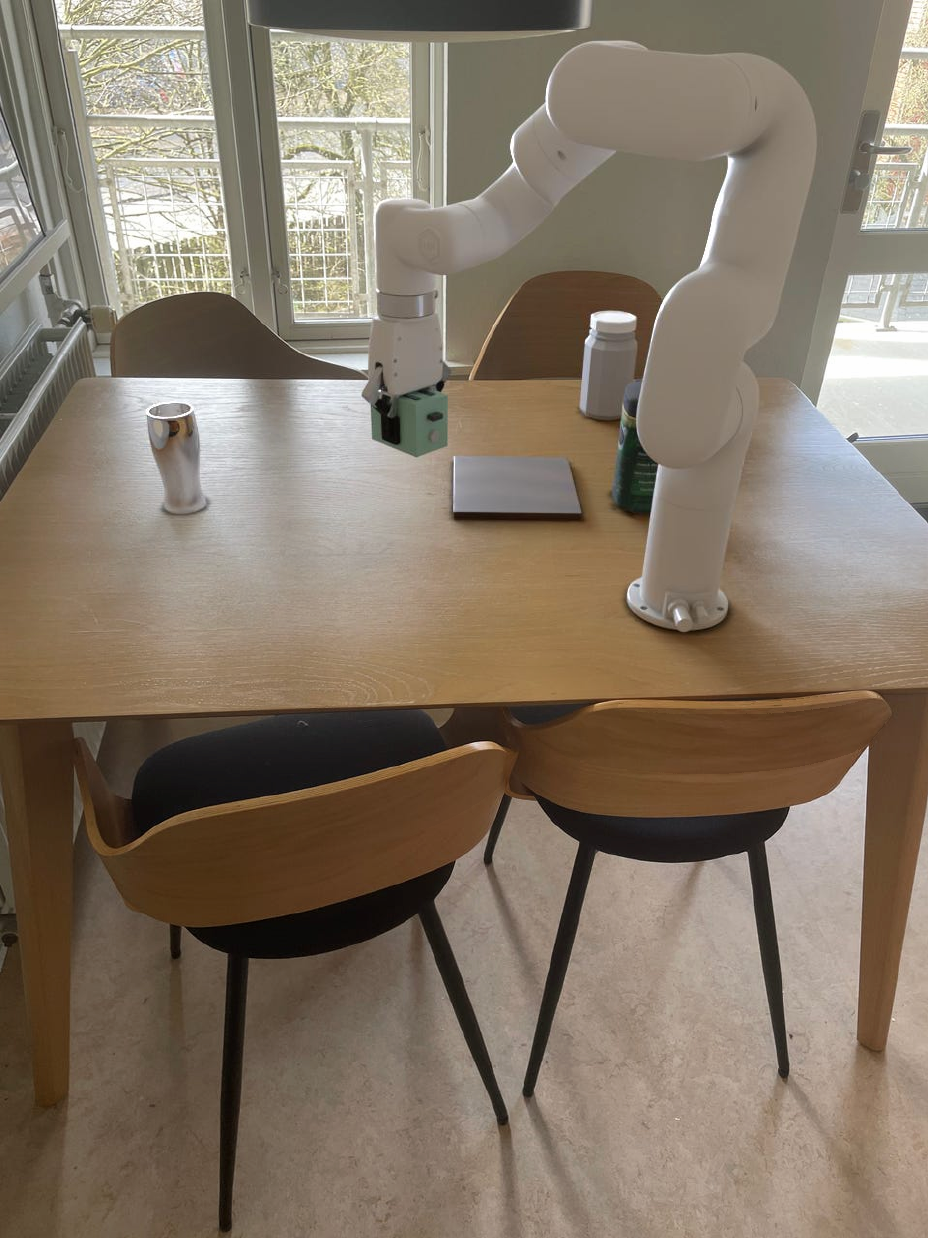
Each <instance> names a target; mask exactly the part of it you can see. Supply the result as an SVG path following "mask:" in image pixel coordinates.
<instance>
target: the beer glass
mask: <svg viewBox="0 0 928 1238" xmlns="http://www.w3.org/2000/svg"><path fill="white" fill-rule="evenodd" d="M194 409H195V408H194V406H193V405H192V404H189V403H187V402H181V401H168V402H162V403H157V404H153V405H152V406H149V408H147V409H146V411H145V414H146V425H147V433H148V435H147V436H148V441H149V445H150V449H151V450H150V451H151V452H152V455H153V459H154V462H155V464H156V467H157V469H158V472H159V475H160V478H161V480H162V485H163V490H164V491H163V493H164V494H163V496H164V497H163V507H164V509H165V510H166V511H167V512H168V513H170V514H176V515H187V514H188V515H189V514H192V513H193V514H194V513H196V512H200V511H201V510H202V509H204V508H205V507H206V504H207V500H206V497H205V494H204V492H203V488H202V485H201V478H200V476H201V473H200V470H201V469H200V468H201V440H200V439H201V437H200V433H199V427H198V423H197V418H196V414H195V410H194Z"/></svg>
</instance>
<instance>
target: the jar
mask: <svg viewBox="0 0 928 1238" xmlns="http://www.w3.org/2000/svg"><path fill="white" fill-rule="evenodd" d="M637 319H638V317H637V316H636V315H634V314H632V313H629V312H625V311H621V310H602V311H597V312H593V313H592V314H590V322H589V328H591V329H589V335H588V336H587V338H586V339H585V341H584V349H583V362H582V374H581V386H580V395H579V396H580V398H579V410H580V411H581V412H582V414H583V415H585V416H586V417H588V418H591V419H594V420H598V421H615V420H621V415H622V405H623V398H624V392H625V388H626V387H627V386H628V385H629V384H630V383H632V382H634V381H635V380H634V379H635V373H636V371H635V370H636V363H637V362H636V361H637V353H638V342H637V340H636V332H635V331H636V329H637V321H638V320H637Z"/></svg>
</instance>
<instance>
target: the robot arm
mask: <svg viewBox="0 0 928 1238" xmlns="http://www.w3.org/2000/svg"><path fill="white" fill-rule="evenodd" d="M817 135H818V133H817V123H816V119H815V115H814V111H813V108H812V105H811V103H810V100H809V98H808V96H807V94H806V93H805V91H804V89H803V87H802V86H801V85H800V83H799V82H798V81H797V80H796V78H795V77H793V75H792V74H791V73H789V72H788V71H787V70H786V68H784V67H783V66H781V65H780V64H778V63H777V62H775V61H773V60H772V59H770V58H768V57H765V56H762V55H759V54H755V53H754V54H753V53H749V52H729V53H728V52H727V53H714V54H697V53H685V52H673V51H661V50H651V49H649V48H647V47H646V46H644V45H643V44H640V43H638V42H635V41H630V40H592V41H591V40H590V41H587V42H582V43H581V44H579V45H576V46H573V48H571V49H570V50H568V51H567V52H566V53H565V54H564V55H563V56H562V57H561V58H560V59H559V60H558V61H557V63H556V64H555V66H554V68H553V69H552V71H551V74H550V76H549V78H548V82H547V85H546V92H545V102H544V103H543V104H542V105H541V106H540V107H539V108H538V109H537V110H536V111H534V113H532V114H531V115H530V116H529V117H528V118H527V119H526V120H525V121H524V122H523V123H521V124H520V125H519V126H518V127H517V128H516V130H514V132H513V134H512V137H511V141H510V153H511V156H512V160H513V161H512V163H511V165H510V166H509V167H508V169H507V170H505V171H504V172H503V174H502V175H501V176H500V177H499V178H497V180H495V181H494V182H493V183H492V184H491V185H490V186H489V187H487V189H485V190H484V191H482V193H480V194H479V195H478V196H476V197H475V198H473V199H468V200H463V201H460V202H455V203H451V204H448V205H442V206H438V207H433V206H432V205H431V204H430V202H428V201H425V200H423V199H419V198H409V197H402V198H400V197H399V198H397V197H396V198H387V199H384V200H382V201H380V202H379V203H377V205H375V208H374V210H373V233H374V255H375V258H374V260H375V284H376V287H375V288H376V310H377V312H376V313H377V315H374V316H372V321H371V325H370V331H369V341H368V353H367V354H368V359H367V378H368V381H367V383H366V385H365V387H364V388H363V389H362V391H361V397H362V398H363V399H364V400H365V401H366V402H367V403H368V404H369V406H370V407H371V406H372V407H373V408H374V409H376V411H377V413H380V414H381V434H382V439H383V440H384V441H387V442H389V443H392V444H394V445H398V444H400V418H399V417H398V416H396V412H397V408H398V404H399V401H398V399H400V397H401V395H405V394H408V393H411V392H414V391H417V390H421V389H424V388H427V389H433V390H436V391H439V392H441V393H442V391H443V389H444V387H445V383H446V382H447V380H448V379H449V377H450V376H451V373H452V369H451V368H450V367H449V366H448V365H447V363H446V362H445V361H444V359H443V358H444V356H443V341H442V331H441V325H440V318H439V313H438V311H437V310H436V299H437V298H438V297H439V291H438V289H437V288H436V275H438V276H450V275H454V274H458V273H461V272H463V271H465V270H469V269H472V268H475V267H477V266H480V265H484V264H486V263H490V262H492V261H495V260H497V259H498V258H500V257H501V256H503V255H504V254H506V253H507V252H508V251H510V250H511V249H512V248H514V247H515V246H516V245H517V244H518V243H519V242H521V241H522V240H523V239H525V238H526V237H527V236H528V235H529V234H531V233H532V232H533V231H534V230H536V229H537V228H538V227H539V226H540V225H541V224H542V223H543V222H544V221H545V220H546V219H547V218H548V217H549V216H550V214H551V213H552V212H553V210H555V209H556V207H557V206H558V205H559V203H560V201H561V200H562V198H563V197H564V196H566V194H568V193H569V192H570V191H571V190H572V189H573V188H575V187H576V186H577V185H578V184H580V183H581V182H582V181H583V180H584V179H585V178H586V177H588V176H589V175H590V174H592V173H593V172H594V171H595V170H596V169H598V168H599V167H600V166H601V165H603V163H605V162H606V161H607V160H608V159H609V158H611V157H612V156H613V155H614V154H616V152H621V153H622V152H623V153H629V154H635V155H641V156H647V157H654V158H659V159H666V160H673V161H678V162H679V161H680V162H703V161H710V160H713V159H717V158H721V157H724V156H726V157H727V171H726V175H725V178H724V181H723V184H722V186H721V188H720V192H719V193H718V197H717V200H716V202H715V205H714V209H713V213H712V217H711V225H710V229H709V234H708V238H707V240H706V241H707V242H706V245H705V250H704V253H703V256H702V259H701V262H700V265H699V266H698V268H697V269H695V270H693V271H692V272H689V273H688V274H687V275H684V277H682V278H681V279H680V280H678V281H677V282H676V283H675V284H674V285H673V286H672V287H671V289H670V290H669V291H668V293H667V294H666V296H664V299H663V301H662V303H661V305H660V308H659V309H658V313H656V314H657V315H656V318H655V321H654V325H653V328H652V333H651V339H650V343H649V348H648V353H647V357H646V362H645V368H644V372H643V376H642V379H643V381H642V386H641V391H640V396H639V401H638V407H637V415H636V426H637V433H638V437H639V440H640V443H641V445H642V447H643V449H644V450H645V452H646V453H647V454H648V456H649V457H650V458H651V459H652V460H654V461H655V462H656V463H658V470H657V476H656V482H655V488H654V495H653V502H652V509H651V513H650V517H649V524H648V525H649V526H648V529H647V530H648V532H647V538H646V545H645V551H644V552H645V553H644V558H643V559H644V560H643V567H642V574H641V576H640V577H639V578H637V579H634V581H632V582H631V584H630V585H629V586H628V588H627V593H626V602H627V605H628V607H629V608H630V610H631V611H632V612H633V613H634V614H635V615H636V616H638V617H639V618H641V619H642V620H644V621H646V622H647V623H650V624H652V625H655V626H657V627H661V628H664V629H669V630H673V631H674V630H675V631H679V632H681V633H686V632H690V631H699V630H704V629H708V628H711V627H714V626H716V625H718V624H719V623H721V622H722V621H723V620H724V619H725V618H726V617H727V614H728V610H729V599H728V597H727V596H726V594H725V593H724V591H723V590H721V589H720V584H721V583H720V582H721V577H722V572H723V567H724V561H725V557H726V552H727V547H728V543H729V536H730V532H731V527H732V526H731V525H732V520H733V516H734V511H735V506H736V501H737V498H738V492H739V487H740V483H741V477H742V473H743V468H744V464H745V460H746V456H747V453H748V449H749V446H750V443H751V439H752V436H753V433H754V430H755V426H756V423H757V419H758V415H759V414H758V413H759V410H760V387H759V383H758V381H757V378H756V375H755V373H754V372H753V370H752V369H751V367H749V366H748V364H746V363H745V362H744V358H745V357H744V356H745V354H746V351H748V350H749V349H750V348H752V347H754V346H755V344H757V343H758V342H759V341H761V340H762V339H763V338H764V337H765V336H766V335H767V334H768V333H769V331H770V329H771V328H772V327H773V325H774V322H775V321H776V317H777V315H778V312H779V307H780V302H781V298H782V294H783V290H784V286H785V282H786V279H787V276H788V271H789V268H790V265H791V261H792V257H793V254H794V250H795V247H796V241H797V238H798V233H799V228H800V226H801V222H802V221H801V220H802V218H803V214H804V210H805V206H806V203H807V199H808V195H809V191H810V189H811V185H812V184H811V183H812V179H813V175H814V170H815V165H816V159H817V146H818V144H817V143H818V137H817ZM378 390H381V391H380V395H379V397H378V395H377V392H378ZM388 396H389V397H391V399H390V403H389V405H388V404H387V401H388Z"/></svg>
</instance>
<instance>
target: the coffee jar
mask: <svg viewBox="0 0 928 1238" xmlns="http://www.w3.org/2000/svg"><path fill="white" fill-rule="evenodd" d="M642 381H643V378H636V379H635V380H633V382H632V383H630V384H629V385H628V386H627V387H626V388H625V392H624V398H623V405H622V415H621V418H620V426H619V433H618V442H617V451H616V458H615V467H614V473H613V481H612V490H611V491H612V492H611V494H612V499H613V501H614V503H615V505H616V507H618V509H620V510H622V511H627V512H629V513H634V514H640V515H646V514H651V509H652V502H653V495H654V488H655V482H656V476H657V470H658V463H656V462H655V461H654V460H652V459H651V458H650V457H649V456H648V454H647V453H646V452H645V450H644V449H643V447H642V445H641V443H640V440H639V437H638V433H637V426H636V415H637V407H638V401H639V396H640V391H641V386H642Z"/></svg>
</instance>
